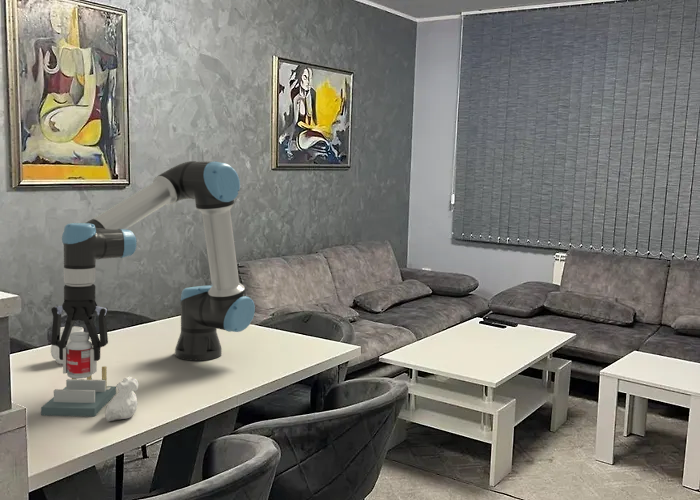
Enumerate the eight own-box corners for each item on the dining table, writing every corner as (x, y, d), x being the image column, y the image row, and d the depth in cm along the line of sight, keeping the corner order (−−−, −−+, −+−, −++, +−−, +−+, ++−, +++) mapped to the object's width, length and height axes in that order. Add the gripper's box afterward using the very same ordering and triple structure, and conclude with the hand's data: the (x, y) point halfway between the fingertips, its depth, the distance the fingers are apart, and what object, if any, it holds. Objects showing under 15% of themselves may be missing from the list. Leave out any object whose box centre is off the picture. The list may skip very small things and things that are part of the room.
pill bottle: (62, 375, 181) (62, 333, 179) (84, 371, 185) (84, 329, 184) (74, 380, 177) (74, 337, 175) (97, 375, 181) (97, 334, 180)
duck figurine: (112, 434, 168) (140, 400, 166) (88, 413, 168) (116, 379, 166) (134, 417, 180) (160, 385, 178) (111, 398, 180) (137, 366, 178)
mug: (62, 369, 212) (62, 335, 211) (40, 365, 215) (40, 332, 213) (89, 359, 223) (89, 328, 222) (68, 356, 226) (68, 325, 225)
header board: (116, 393, 191) (116, 364, 190) (94, 416, 173) (94, 384, 172) (67, 392, 190) (67, 363, 190) (41, 415, 173) (40, 383, 172)
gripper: (121, 282, 183) (121, 369, 185) (47, 280, 182) (47, 367, 184) (113, 287, 175) (113, 377, 177) (35, 285, 174) (36, 375, 177)
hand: (80, 372), depth 181 cm, fingers closed on pill bottle, 6 cm apart
